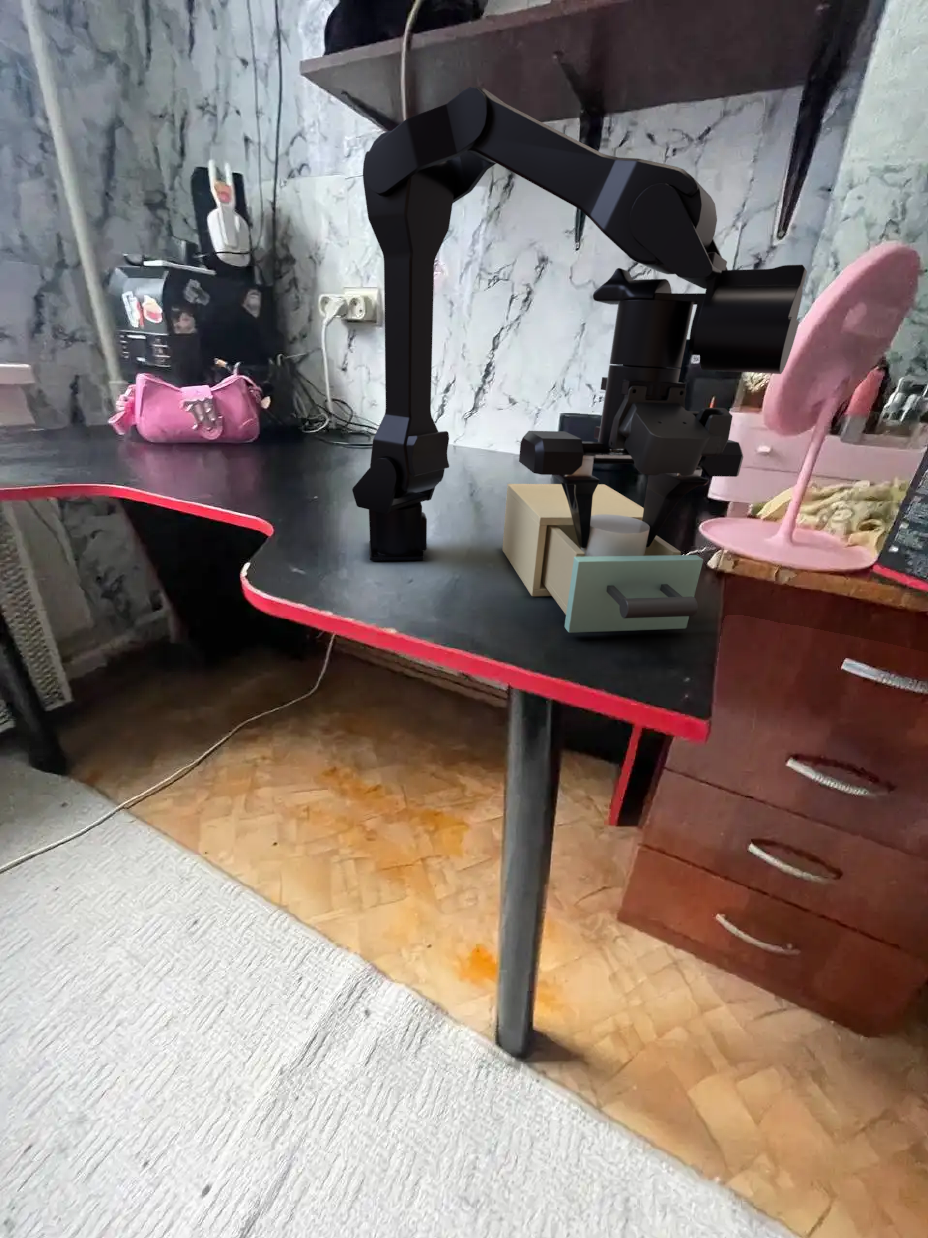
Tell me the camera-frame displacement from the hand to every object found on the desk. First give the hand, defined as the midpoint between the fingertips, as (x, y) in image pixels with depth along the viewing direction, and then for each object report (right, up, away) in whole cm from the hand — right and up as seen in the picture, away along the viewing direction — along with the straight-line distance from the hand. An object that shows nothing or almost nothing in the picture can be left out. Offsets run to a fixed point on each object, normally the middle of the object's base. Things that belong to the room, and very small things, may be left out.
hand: (613, 546), depth 52 cm
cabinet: (-2, -1, +13) cm, 13 cm away
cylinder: (0, -1, +1) cm, 1 cm away
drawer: (0, -6, +1) cm, 6 cm away
